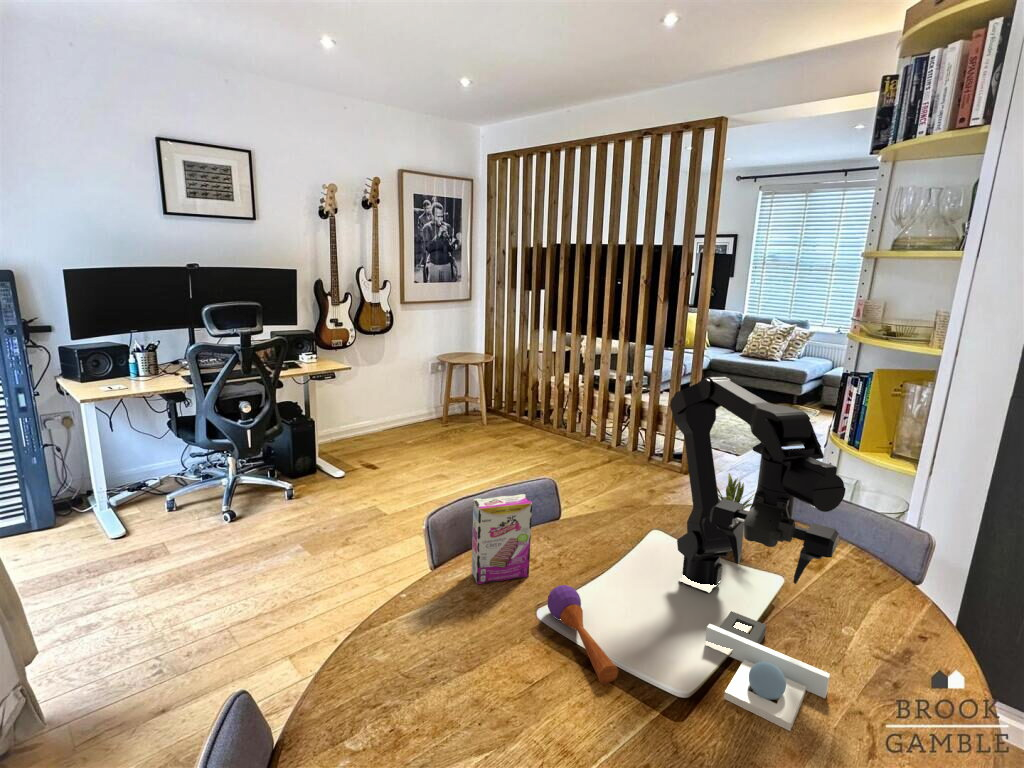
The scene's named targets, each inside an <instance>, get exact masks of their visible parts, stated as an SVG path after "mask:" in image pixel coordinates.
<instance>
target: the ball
mask: <svg viewBox="0 0 1024 768" xmlns="http://www.w3.org/2000/svg"><path fill="white" fill-rule="evenodd" d="M749 683H750V686H751V688H752V689H751V690H752V691H753V693H755V694H757V695H759V696H761V697H763V698H765V699H767V700H769V701H774V700H779V698H780V697H781V696H782V695H783V694H784V692H785V689H786V681H785V677H784V675H783V673H782V672H781V670H780V669H779V668H778V667H777V666H775V665H774V664H772V663H769V662H759V663H756V664H755V665H753V666H752V668H751V669H750V672H749Z"/></svg>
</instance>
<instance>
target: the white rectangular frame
mask: <svg viewBox="0 0 1024 768" xmlns="http://www.w3.org/2000/svg"><path fill="white" fill-rule="evenodd" d="M753 665H755V664H753V663H751V662H749V661H746V660H743V662H741V664H740V666H739V667H738V669H737V671H736V672H735V674H734V676H733V678H732V679H731V681H730V683H729V684H728V686H727V688H726V689H725V690H724V696H723V697H724V698H723V699H724V700H726V701H728V702H730V703H732V704H734V705H736V706H738V707H740V708H742V709H744V710H746V711H749V712H751V713H753V714H754V715H757V716H758V717H760V718H763V719H765V720H766V721H769V722H771V723H772V724H774V725H777V726H779V727H781V728H783V729H784V730H787V731H789V732H790V731H791V730H792V728H793V725H794V722H795V721H796V718H797V715H798V713H799V710H800V708H801V705H802V703H803V700H804V698H805V696H806V691H807V690H806V686H803V685H801V684H799V683H796V682H794V681H792V680H790V679H787V678H785V681H786V689H785V692H784V694H783V695H782V696H781V697H780V698H778V699H777V703H776V702H774V701H773V700H767V699H765V698H763V697H761V696H759V695H757V694H756V693H755V692H752V691H751V690H753V689H752V688H751V686H750V683H749V672H750V669H751V668H752V666H753Z"/></svg>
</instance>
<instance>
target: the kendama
mask: <svg viewBox="0 0 1024 768" xmlns="http://www.w3.org/2000/svg"><path fill="white" fill-rule="evenodd" d="M547 608H548V611H549V613H550V614H551V616H553V617H554V618H555V617H556V618H557V620H558V619H561V623H562V624H563V625H564V626H567V627H569V628H570V629H573V630H575V631H577V633H578V635H579V637H580V640H581V643H582V644H583V647H584V649H585V651H586V654H587V656H588V658H589V660H590V662H591V665H592V667H593V670H594V671H595V674H596V676H597V678H598V681H599V683H601V684H606V683H610V682H614V681H615V680H616V679H617V677H618V675H619V669H618V667H617V665H616V664H615V663H614V662H613V661H612V659H611V658H610V657H609V656H608V655H607V654H606V653H605V651H604V650H603V649H602V648H601V647H600V645H599V644H598V643H597V642H596V641H595V639H594V638H593V637H592V636H591V634H589V632H588V631H587V630H586V629H585V628H584V619H583V618H584V615H583V614H584V613H583V612H584V610H583V608H582V599H581V597H580V594H579V592H578V591H577V590H576V589H575V588H574V587H573V586H570V585H567V584H561V585H557V586H556V587H554V588H552V589H551V591H550V592H549V595H548V597H547ZM556 618H555V619H556Z"/></svg>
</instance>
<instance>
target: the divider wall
mask: <svg viewBox="0 0 1024 768" xmlns="http://www.w3.org/2000/svg"><path fill="white" fill-rule="evenodd" d="M705 633H706V634H705V641H708V642H711V643H714V644H716V645H720V646H722V647H726V648H730V649H733V652H732V654H731V655H730V656H729V657H730V658H732V659H734V660H738V661H739V662H741V663H742V662H743V660H746V661H749V662H751V663H753V664H756V663H759V662H769V663H772V664H774V665H775V666H777V667H778V668H779V669H780V670H781V672H782V673H783V675H784V677H785V678H787V679H790V680H792V681H794V682H796V683H799V684H801V685H803V686H806V691H807V692H809V693H812V694H814V695H816V696H818V697H820V698H823V699H826V697H827V695H828V689H829V683H830V677H831V673H830V672H827V671H826V670H822V669H820V668H817V667H816V666H812V665H811V664H807V663H805V662H804V661H801V660H799V659H795V658H793V657H791V656H788V655H786V654H784V653H781V652H779V651H777V650H774V649H772V648H770V647H767V646H764V645H763V644H761V643H760V644H758V643H755V642H753V641H750V640H748V639H746V638H743V637H741V636H738V635H736V634H734V633H731V632H729V631H726V630H724V629H722V628H720V626H716V625H714V624H711V623H709V624H708V625H707V626H706V632H705Z"/></svg>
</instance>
